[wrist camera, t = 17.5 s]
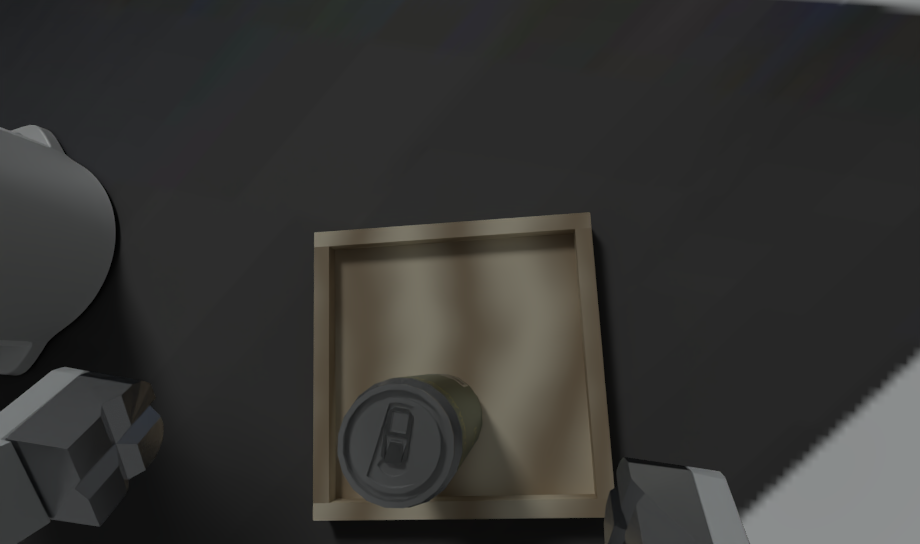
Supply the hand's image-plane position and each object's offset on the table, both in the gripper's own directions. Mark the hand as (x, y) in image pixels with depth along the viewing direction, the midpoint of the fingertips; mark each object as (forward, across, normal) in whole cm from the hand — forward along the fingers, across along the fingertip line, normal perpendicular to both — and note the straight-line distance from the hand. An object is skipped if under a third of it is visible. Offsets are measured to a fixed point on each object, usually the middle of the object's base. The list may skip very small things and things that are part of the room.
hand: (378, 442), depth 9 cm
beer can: (+18, +1, +18) cm, 25 cm away
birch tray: (+21, 0, +15) cm, 26 cm away
